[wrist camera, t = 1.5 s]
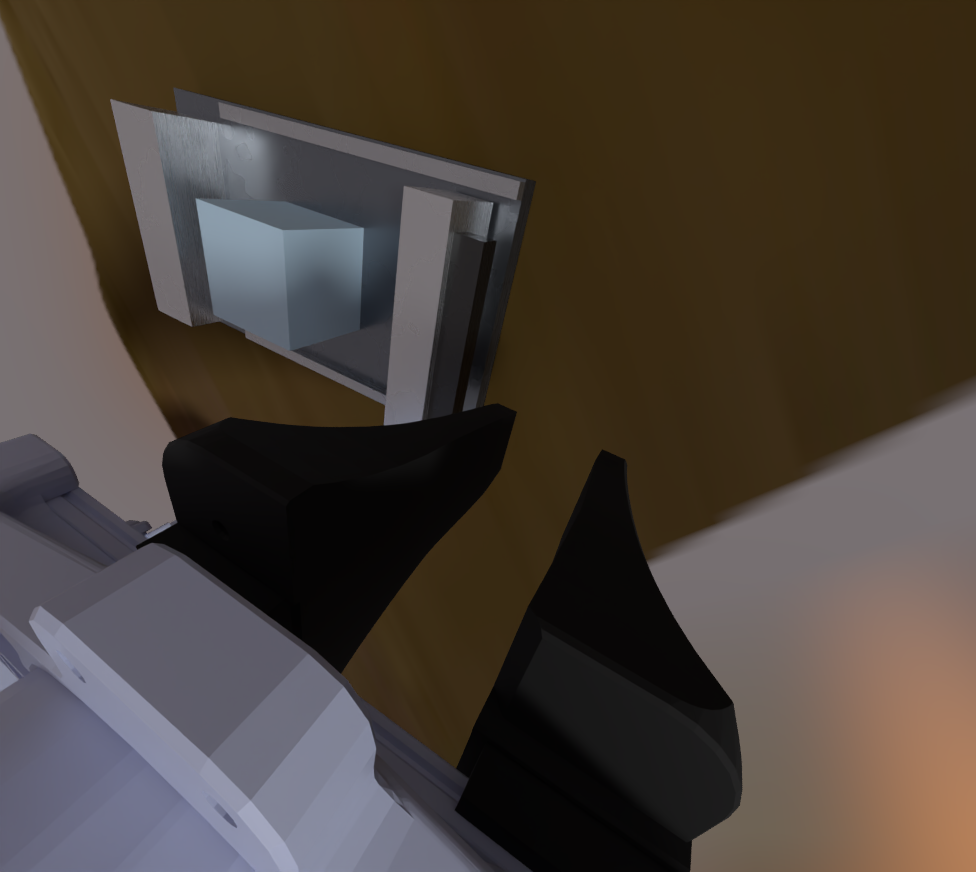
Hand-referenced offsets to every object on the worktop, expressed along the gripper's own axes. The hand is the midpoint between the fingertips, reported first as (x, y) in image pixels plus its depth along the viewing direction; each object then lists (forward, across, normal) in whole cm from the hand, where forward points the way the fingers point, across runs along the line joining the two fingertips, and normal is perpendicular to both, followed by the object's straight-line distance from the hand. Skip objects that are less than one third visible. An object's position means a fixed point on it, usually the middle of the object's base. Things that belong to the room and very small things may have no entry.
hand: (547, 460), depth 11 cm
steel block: (+7, +16, 0) cm, 17 cm away
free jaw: (+7, +7, 0) cm, 10 cm away
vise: (+8, +16, 0) cm, 18 cm away
